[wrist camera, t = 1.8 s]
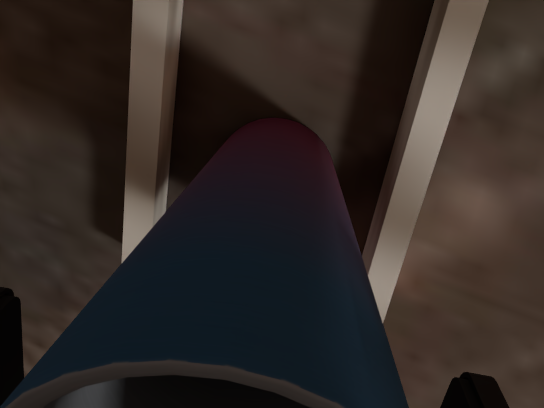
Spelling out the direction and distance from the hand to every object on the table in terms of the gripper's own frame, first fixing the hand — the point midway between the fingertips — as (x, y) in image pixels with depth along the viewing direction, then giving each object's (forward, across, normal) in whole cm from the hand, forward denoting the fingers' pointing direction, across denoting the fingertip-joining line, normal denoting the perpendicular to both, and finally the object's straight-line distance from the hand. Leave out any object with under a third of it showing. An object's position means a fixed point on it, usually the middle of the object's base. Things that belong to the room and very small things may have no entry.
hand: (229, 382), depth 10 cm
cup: (+12, 0, -1) cm, 12 cm away
